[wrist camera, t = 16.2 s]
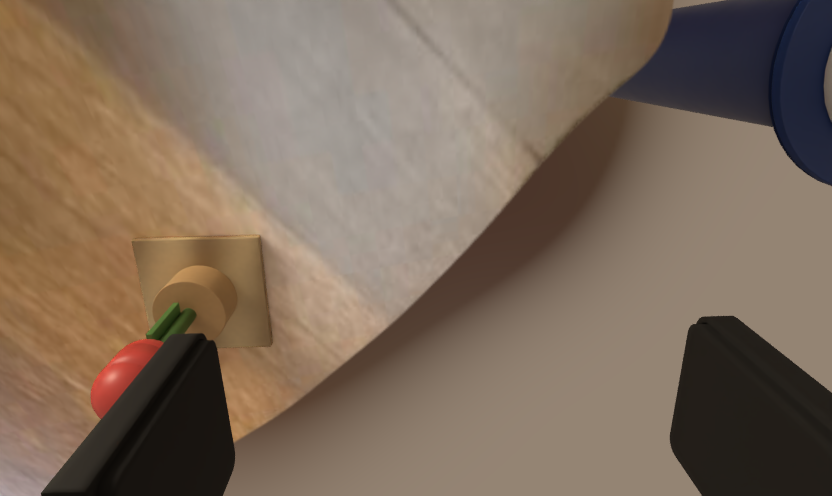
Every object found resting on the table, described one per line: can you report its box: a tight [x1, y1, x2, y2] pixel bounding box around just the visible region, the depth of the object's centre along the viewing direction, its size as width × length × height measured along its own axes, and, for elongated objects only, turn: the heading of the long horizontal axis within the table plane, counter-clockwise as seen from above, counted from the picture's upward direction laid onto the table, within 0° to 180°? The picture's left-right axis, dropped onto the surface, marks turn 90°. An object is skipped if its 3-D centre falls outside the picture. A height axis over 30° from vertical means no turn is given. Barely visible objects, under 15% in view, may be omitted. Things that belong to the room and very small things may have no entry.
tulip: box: [91, 265, 237, 419], centre depth 33 cm, size 5×5×14 cm
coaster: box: [132, 235, 273, 348], centre depth 40 cm, size 9×9×1 cm
